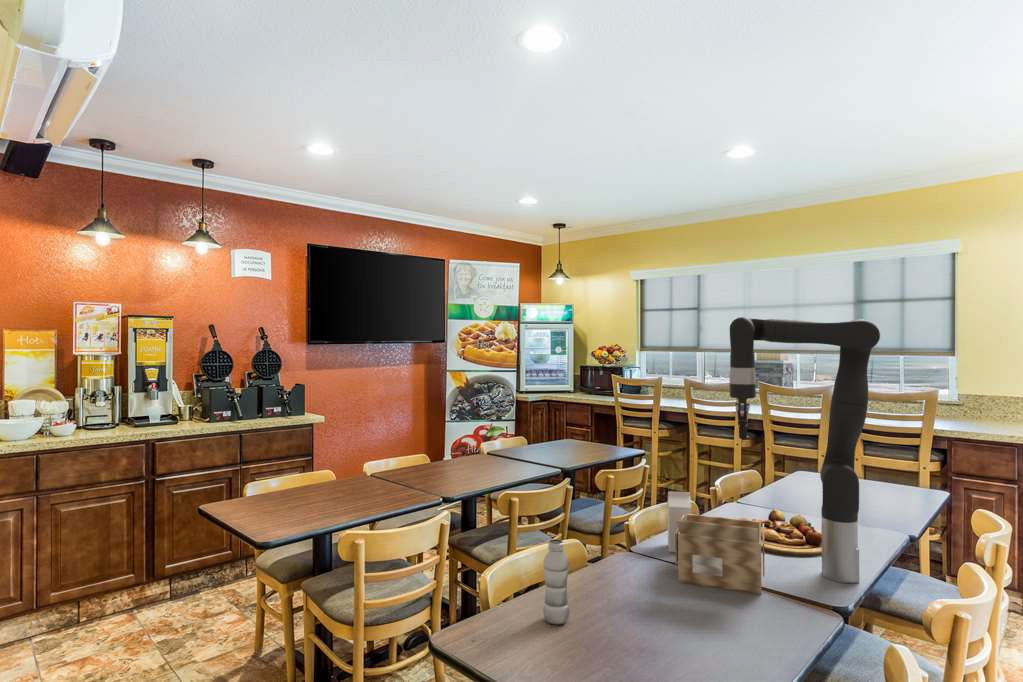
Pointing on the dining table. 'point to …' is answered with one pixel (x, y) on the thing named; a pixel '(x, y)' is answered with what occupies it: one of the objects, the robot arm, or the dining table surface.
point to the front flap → (718, 531)
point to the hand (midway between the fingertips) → (742, 438)
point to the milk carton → (676, 513)
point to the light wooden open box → (720, 557)
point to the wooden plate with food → (790, 536)
